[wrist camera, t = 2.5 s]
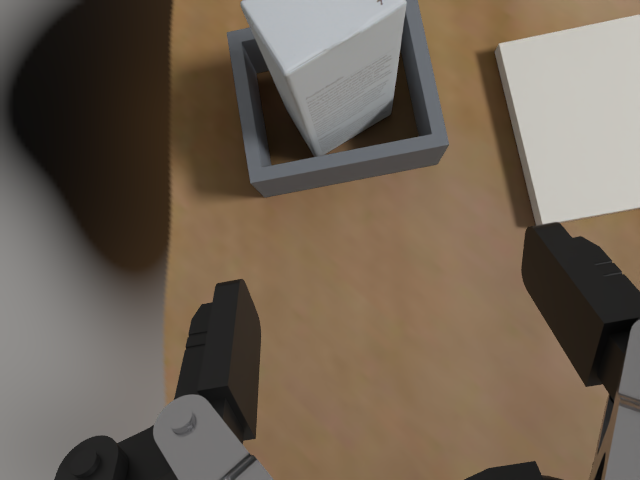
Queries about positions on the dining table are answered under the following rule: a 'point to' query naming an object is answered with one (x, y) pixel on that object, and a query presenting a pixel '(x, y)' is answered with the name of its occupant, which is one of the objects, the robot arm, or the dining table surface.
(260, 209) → the dining table surface
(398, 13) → the skincare box
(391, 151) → the gray rectangular frame
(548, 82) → the pale tile
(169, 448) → the robot arm
